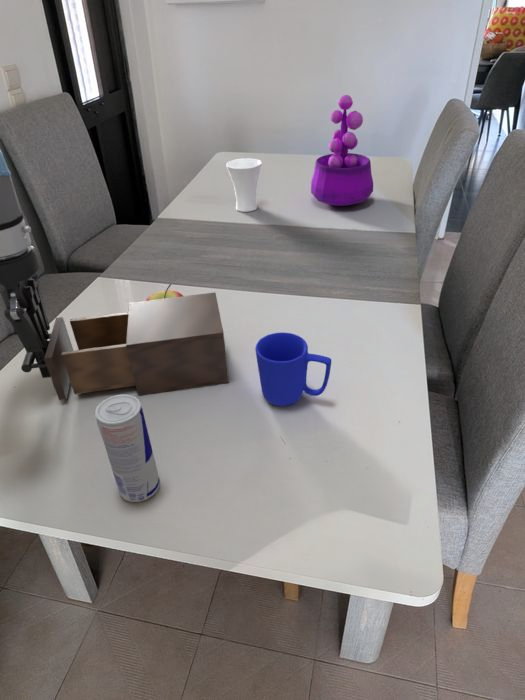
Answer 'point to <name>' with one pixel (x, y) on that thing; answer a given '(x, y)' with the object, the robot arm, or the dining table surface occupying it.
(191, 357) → the cabinet
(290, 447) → the dining table surface
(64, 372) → the drawer
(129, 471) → the beverage can
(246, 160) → the cup
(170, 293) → the apple
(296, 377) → the mug
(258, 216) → the dining table surface
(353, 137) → the decorative plant
